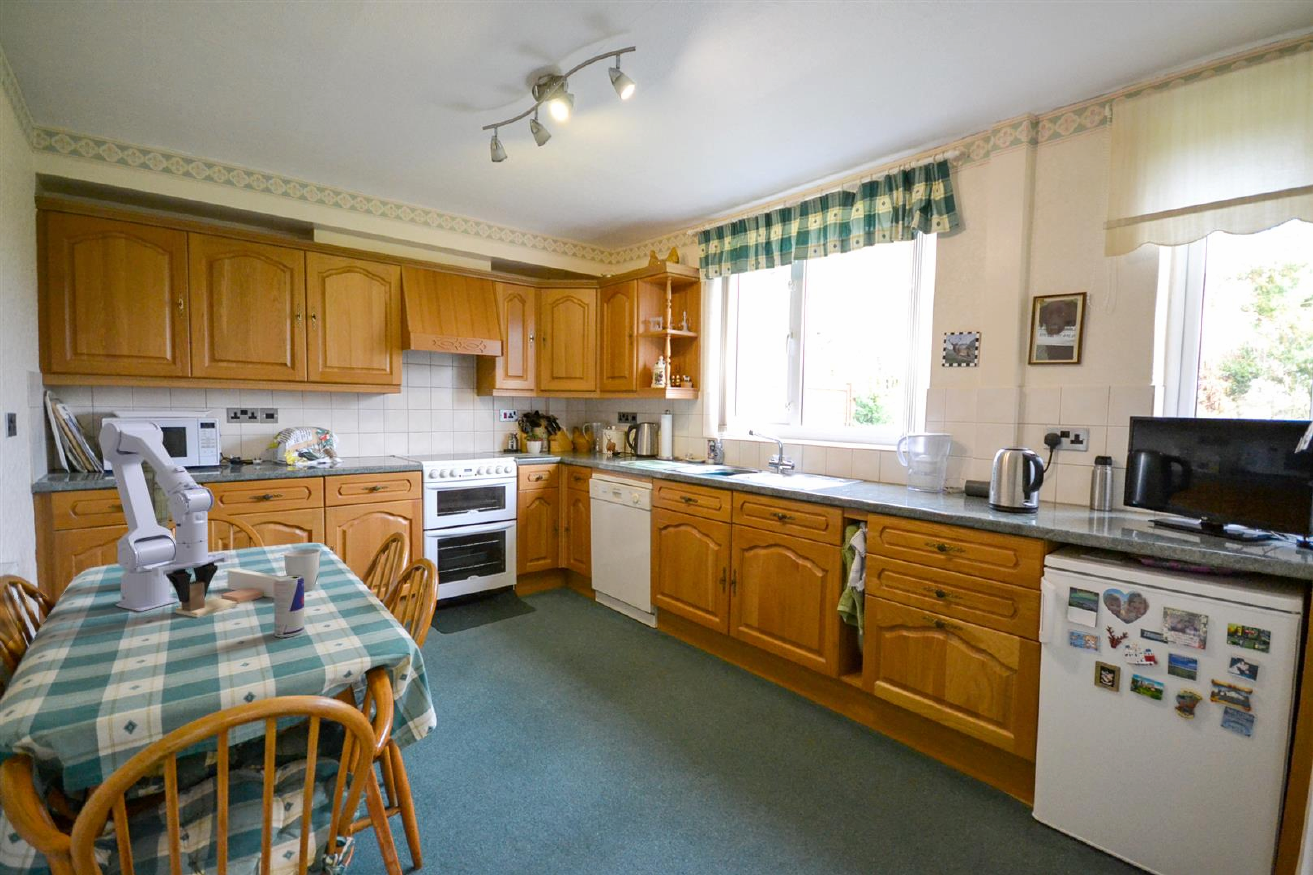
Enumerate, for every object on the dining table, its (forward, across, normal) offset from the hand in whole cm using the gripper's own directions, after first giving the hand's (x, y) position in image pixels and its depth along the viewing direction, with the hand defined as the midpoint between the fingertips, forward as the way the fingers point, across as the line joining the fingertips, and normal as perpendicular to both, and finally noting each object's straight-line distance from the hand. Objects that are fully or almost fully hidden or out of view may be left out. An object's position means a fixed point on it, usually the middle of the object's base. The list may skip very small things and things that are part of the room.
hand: (192, 599), depth 130 cm
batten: (+3, +16, 0) cm, 16 cm away
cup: (+3, +22, -7) cm, 23 cm away
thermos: (+3, +10, +34) cm, 35 cm away
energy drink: (+3, 0, -31) cm, 31 cm away
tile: (+4, +11, 0) cm, 12 cm away
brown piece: (+3, +3, 0) cm, 4 cm away
